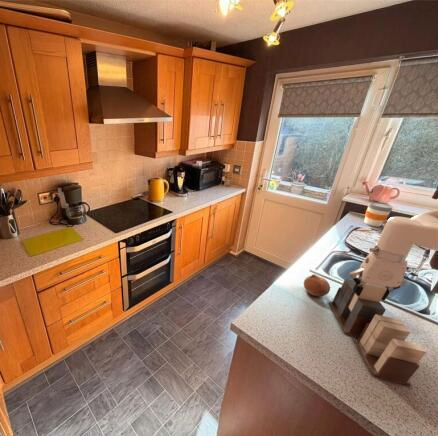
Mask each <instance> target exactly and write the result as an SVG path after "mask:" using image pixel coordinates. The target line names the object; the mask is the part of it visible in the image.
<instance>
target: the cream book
mask: <svg viewBox="0 0 438 436" xmlns="http://www.w3.org/2000/svg"><path fill="white" fill-rule="evenodd" d="M362 287H363V290H362V292H361V294H360V296H357V295H356V293H355V295H354V297H353V299H352V301H351V303H350V305H349V309H350V311H352V309H353V307H354V305H355V303H356V301H357V299H358V298H360V299H365V300H370V301H375V302H380V303H381V301H382V297H383V296H384V294H385V292H386V290H387V288H386V286H382V285H375V284H370V283H366V284H364V285H363V286H362Z"/></svg>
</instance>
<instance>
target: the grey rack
mask: <svg viewBox="0 0 438 436" xmlns="http://www.w3.org/2000/svg"><path fill="white" fill-rule="evenodd" d="M355 284H356V282H355V281H354V280H353V279H347V278H344V281H343V283H342V285H341V286H340V287H338V288H337V291H336V293H335V296H334V297H333V299H332V301H328V304H329V306H330V308H331V310H332V312H333V313H334V315H335V318H336V319H337V321H338V323H339V325H340V327H341V329H342V331H343V333H344V334H345V335H349V336H353V337H355V338H356V337H357V338H359V337H360V335H361V333H362V331H363V330H364V328H365V326H366V324H367V323H369V324H370V323H371V321H372V319H373V317H374V316H375V314H376V315H381V316H384V314H385V312H386V310H387V309H386V308H385V306H384V305H383V304H382V303H381V301H380V302H375V301H370V300H365V299H360V298H358V299H357V301H356V303H355V305H354V307H353V309H352V311H350V309H349V305H350V303H351V301H352V299H353V297H354V295H355V292H354V291H353V288H354V286H355Z"/></svg>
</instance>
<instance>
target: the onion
mask: <svg viewBox="0 0 438 436" xmlns="http://www.w3.org/2000/svg"><path fill="white" fill-rule="evenodd" d="M303 287H304V289H305V291H306V292H307V293H308V294H309V295H311V296H313V297H315V298H316V297H317V298H323V297H324V296H327V294H329V293H330V292H331V285H330V283H329V282H328V280H327V279H325V278H324V277H321V276H319V275H317V274H314V273H313V274H311V275H309V276H307V277H306V278H305V279H304V282H303Z"/></svg>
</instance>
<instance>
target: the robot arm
mask: <svg viewBox="0 0 438 436" xmlns="http://www.w3.org/2000/svg"><path fill="white" fill-rule="evenodd" d="M414 246H417V247H421V248H425V249H428V250H433V251H437V252H438V209H434V210H430V211H426V212H422V213H419V214H416V215H414V216H412V217H411V218H410V217H405V216H391V217H390V218H388V220H387V221H386V224H385V225H384V227H383V230H382V232H381V234H380V236H379V238H378V240H377V242H376V245H374V247H370V248H369V253H368V254H367V256H366V257H365V258H364V260H363V261H362V263H361V265H360V267H359V268H357V269H356V270H353V271H350V272H348V275H349V276H350V278H351V280H354V281H355V282H356V284H355V286H354V288H353V291H354V292H355V293H356V295H357V296H360V294H361V292H362V290H363V287H362V286H363V285H364V284H366V283H370V284H375V285H382V286H386V288H387V290H386V292H385V294H384V296H383V297H382V299H381V301H386V299H387V298H388V296H389V294H390V293H392V292H394V290H397V289H400V288H401V287H404V286H407V285H408V283H407V282H406V280H405V279H404V277H405V275H406V272H407V268H408V261H407V260H406V259H407V258H408V256H409V253H410V252H411V250H412V248H413V247H414ZM357 275H360V276H359V277H358V278H357V277H356V276H357ZM361 280H362V281H361ZM360 281H361V282H360Z"/></svg>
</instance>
